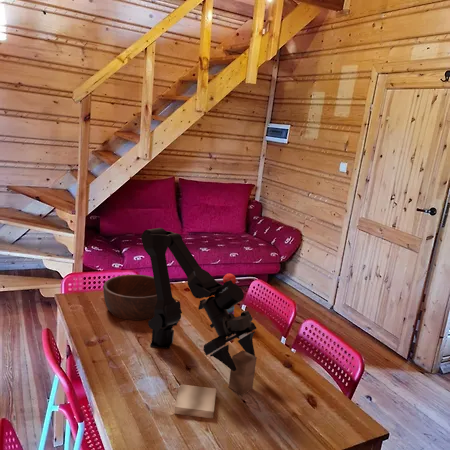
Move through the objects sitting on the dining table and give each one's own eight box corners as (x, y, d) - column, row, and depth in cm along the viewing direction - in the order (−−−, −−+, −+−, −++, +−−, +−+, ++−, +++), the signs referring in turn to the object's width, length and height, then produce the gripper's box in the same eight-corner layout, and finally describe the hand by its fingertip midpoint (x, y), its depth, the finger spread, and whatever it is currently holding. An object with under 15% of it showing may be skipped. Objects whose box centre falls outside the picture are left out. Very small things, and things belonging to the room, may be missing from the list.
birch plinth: (174, 413, 110) (174, 406, 109) (179, 390, 120) (180, 384, 119) (212, 418, 110) (213, 411, 109) (215, 395, 119) (216, 388, 119)
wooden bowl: (136, 330, 151) (138, 303, 149) (88, 309, 164) (89, 284, 162) (179, 309, 172) (182, 285, 170) (134, 292, 185) (135, 269, 183)
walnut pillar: (228, 387, 124) (232, 356, 122) (238, 380, 128) (242, 350, 125) (242, 395, 121) (246, 363, 119) (252, 388, 125) (256, 357, 122)
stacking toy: (219, 324, 163) (224, 278, 159) (210, 315, 170) (215, 270, 166) (237, 322, 167) (243, 276, 163) (228, 313, 174) (233, 269, 169)
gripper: (215, 312, 115) (243, 366, 110) (255, 296, 129) (281, 343, 125) (191, 329, 121) (217, 380, 117) (231, 312, 136) (256, 357, 131)
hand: (244, 364), depth 122 cm, fingers open, 9 cm apart
